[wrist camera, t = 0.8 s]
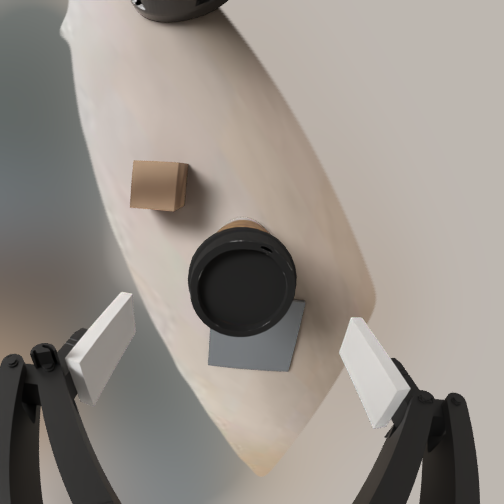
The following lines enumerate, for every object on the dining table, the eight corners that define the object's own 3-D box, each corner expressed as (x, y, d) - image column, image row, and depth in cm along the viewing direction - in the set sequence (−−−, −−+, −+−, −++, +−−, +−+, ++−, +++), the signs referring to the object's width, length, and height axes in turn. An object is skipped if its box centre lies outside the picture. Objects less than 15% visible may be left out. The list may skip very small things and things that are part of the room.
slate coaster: (213, 291, 35) (212, 293, 34) (304, 300, 35) (305, 302, 35) (208, 362, 38) (208, 365, 37) (287, 369, 39) (288, 371, 38)
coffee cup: (290, 226, 33) (325, 268, 18) (257, 284, 35) (266, 359, 20) (227, 194, 31) (212, 211, 17) (197, 256, 33) (165, 316, 19)
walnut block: (149, 161, 30) (133, 160, 25) (188, 164, 30) (178, 162, 25) (145, 202, 31) (130, 207, 27) (184, 205, 32) (173, 211, 27)
